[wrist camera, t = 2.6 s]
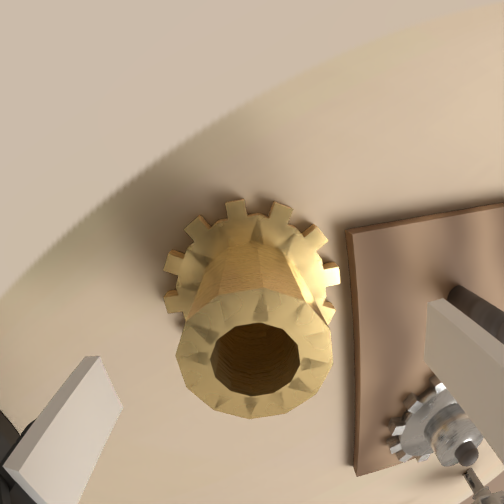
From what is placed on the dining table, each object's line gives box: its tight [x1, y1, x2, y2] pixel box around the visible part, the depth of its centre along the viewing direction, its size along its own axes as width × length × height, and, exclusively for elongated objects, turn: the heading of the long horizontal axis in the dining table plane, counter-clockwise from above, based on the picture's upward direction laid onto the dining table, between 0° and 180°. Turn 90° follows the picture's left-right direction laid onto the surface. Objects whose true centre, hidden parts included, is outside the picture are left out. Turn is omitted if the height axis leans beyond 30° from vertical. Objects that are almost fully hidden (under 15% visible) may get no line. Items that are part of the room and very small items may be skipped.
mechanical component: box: [463, 468, 504, 504], centre depth 23 cm, size 3×10×10 cm, turn 66°
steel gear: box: [386, 375, 483, 466], centre depth 20 cm, size 11×11×5 cm
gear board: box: [345, 203, 504, 477], centre depth 18 cm, size 16×24×8 cm, turn 10°
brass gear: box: [163, 199, 340, 419], centre depth 16 cm, size 11×11×9 cm
